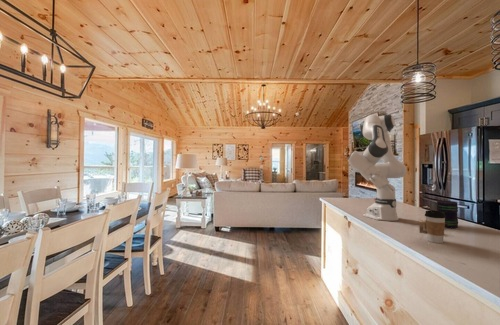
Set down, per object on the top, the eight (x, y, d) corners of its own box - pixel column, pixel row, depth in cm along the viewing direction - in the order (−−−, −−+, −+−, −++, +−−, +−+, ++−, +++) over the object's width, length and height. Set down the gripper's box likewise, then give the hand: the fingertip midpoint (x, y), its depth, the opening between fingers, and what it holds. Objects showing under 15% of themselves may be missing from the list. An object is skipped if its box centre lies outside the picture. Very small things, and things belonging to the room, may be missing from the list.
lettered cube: (419, 232, 132) (419, 221, 132) (420, 230, 137) (419, 219, 137) (433, 234, 128) (432, 223, 128) (433, 231, 133) (432, 220, 133)
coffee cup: (429, 243, 115) (428, 212, 115) (422, 237, 123) (421, 209, 123) (450, 244, 112) (449, 213, 112) (441, 239, 120) (441, 209, 120)
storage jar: (462, 229, 137) (462, 203, 137) (443, 228, 139) (442, 203, 139) (451, 224, 147) (450, 200, 147) (433, 224, 149) (433, 200, 149)
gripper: (372, 170, 125) (394, 189, 119) (379, 169, 142) (398, 186, 136) (363, 178, 128) (384, 198, 122) (371, 176, 144) (389, 193, 138)
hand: (391, 191), depth 129 cm, fingers closed
